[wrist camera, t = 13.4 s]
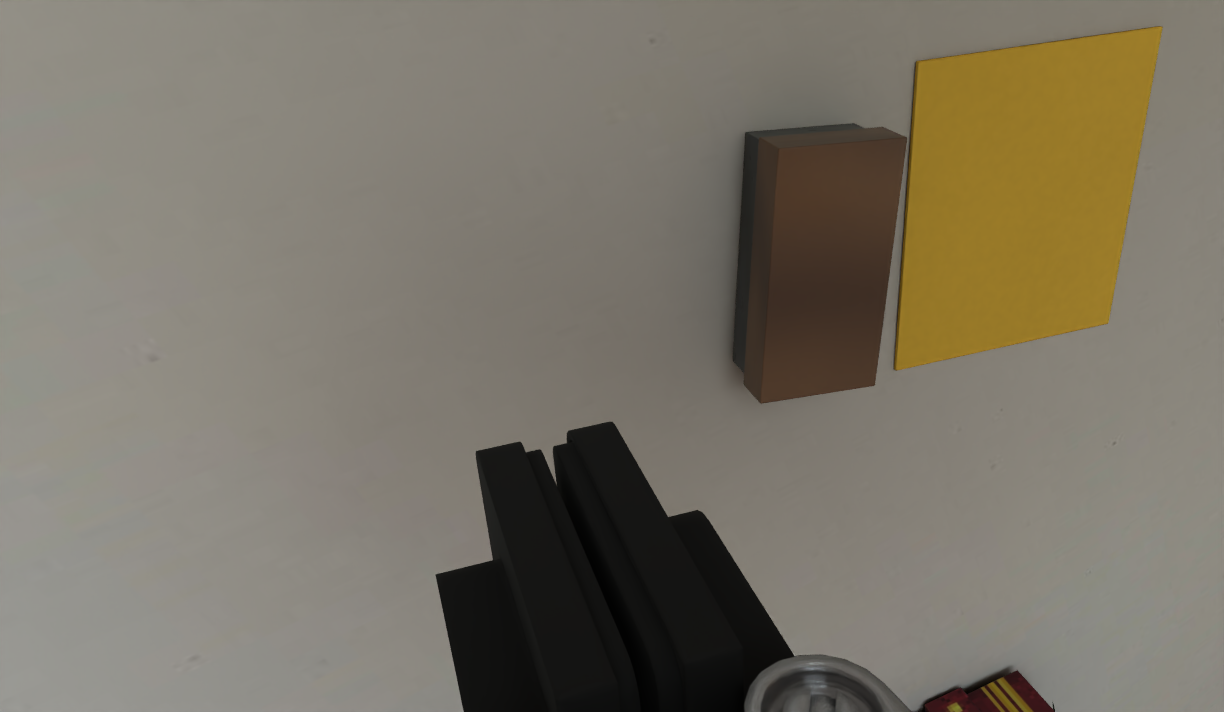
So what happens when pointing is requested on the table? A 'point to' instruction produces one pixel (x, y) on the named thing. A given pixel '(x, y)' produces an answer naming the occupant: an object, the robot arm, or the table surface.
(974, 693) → the decorative book
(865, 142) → the brush
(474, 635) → the robot arm
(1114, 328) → the table surface
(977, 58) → the cloth
